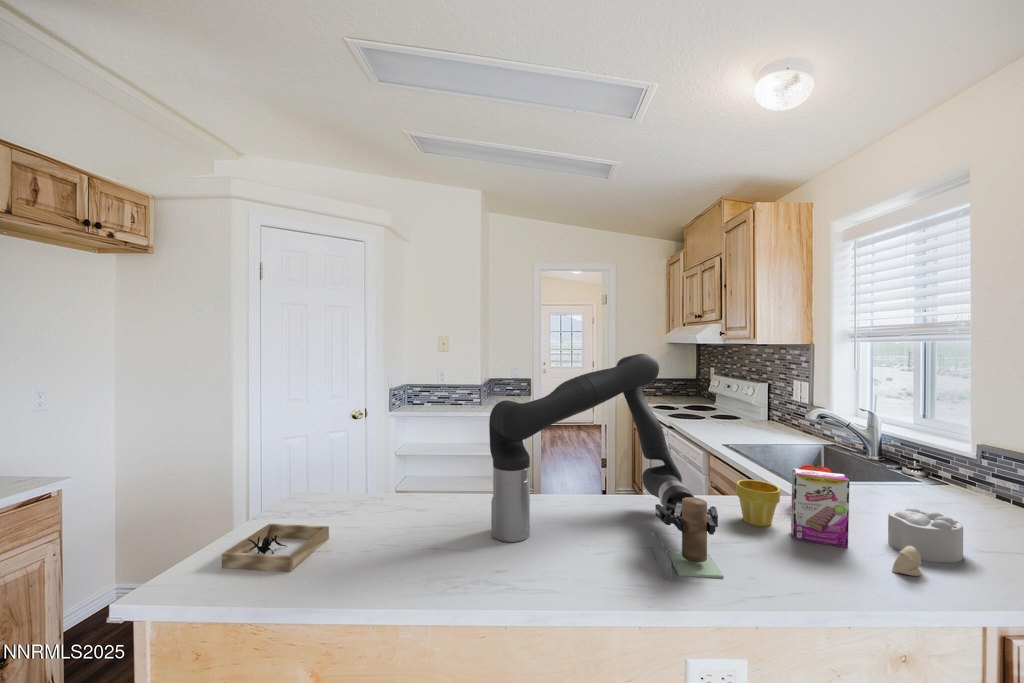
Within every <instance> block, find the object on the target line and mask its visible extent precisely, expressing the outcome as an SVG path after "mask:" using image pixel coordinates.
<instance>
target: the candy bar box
mask: <svg viewBox="0 0 1024 683" xmlns="http://www.w3.org/2000/svg"><path fill="white" fill-rule="evenodd" d="M849 509H850V479H849V478H848V477H847V476H846V475H845V474H844V473H835V472H833V473H828V472H819V471H811V470H802V469H799V468H792V469H791V509H790V512H791V514H790V518H791V520H790V524H791V525H790V531H791V534H792V538H793V539H794V540H799V541H806V542H811V543H817V544H824V545H828V546H835V547H841V548H846V549H847V548H848V547H849V520H850V519H849V517H850V515H849V512H850V511H849Z"/></svg>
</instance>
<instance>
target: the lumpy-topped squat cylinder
mask: <svg viewBox="0 0 1024 683" xmlns="http://www.w3.org/2000/svg"><path fill="white" fill-rule="evenodd" d="M887 515H888V516H887V517H888V518H887V519H888V520H887V527H888V528H887V543H888V544H887V545H889V546H891V547H893V548H894V549H897V550H899V552H900V551H902V550H903V549H904V548H905V547H907V546H912V547H914V548H916V549H917V550H918V551H919V553H920V555H921V561H927V562H938V563H957V562H960V561H962V560H963V559H964V526H963V524H962V523H961V522H960V521H958V520H955V519H953V518H952V517H949V516H945V515H944V514H942V513H940V512H937V511H928V512H925V511H921V510H920V509H918V508H916V507H913V506H911V507H907V508H906V509H905V510H898V511H890V512H889V513H888V514H887Z"/></svg>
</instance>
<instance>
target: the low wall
mask: <svg viewBox="0 0 1024 683" xmlns="http://www.w3.org/2000/svg"><path fill="white" fill-rule="evenodd" d="M659 535H660V534H659V533H658V532H651V550H652V553H653V555H655V556H654V558H655V561H656V562H657V564H658V566H659V569H660V571H661V574H662V576H663V577H664V578H663V579H664V580H665V581H672V562H671V559H670V557H669V555H668V551H667V550H666V547H665V546H664V543H663V542H662V539H661V537H660V536H659Z"/></svg>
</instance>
